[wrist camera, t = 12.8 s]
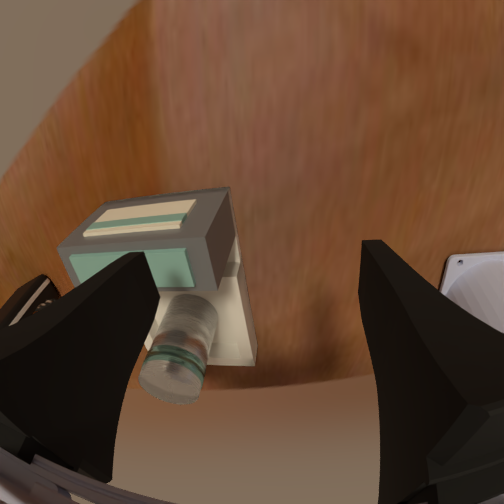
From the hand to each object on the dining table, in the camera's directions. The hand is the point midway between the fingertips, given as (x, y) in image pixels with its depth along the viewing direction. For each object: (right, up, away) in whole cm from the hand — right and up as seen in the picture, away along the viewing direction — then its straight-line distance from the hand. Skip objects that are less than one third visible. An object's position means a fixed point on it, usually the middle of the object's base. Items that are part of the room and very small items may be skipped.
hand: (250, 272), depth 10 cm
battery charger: (-21, -3, +17) cm, 27 cm away
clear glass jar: (-4, -4, +14) cm, 15 cm away
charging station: (-5, -1, +13) cm, 14 cm away
